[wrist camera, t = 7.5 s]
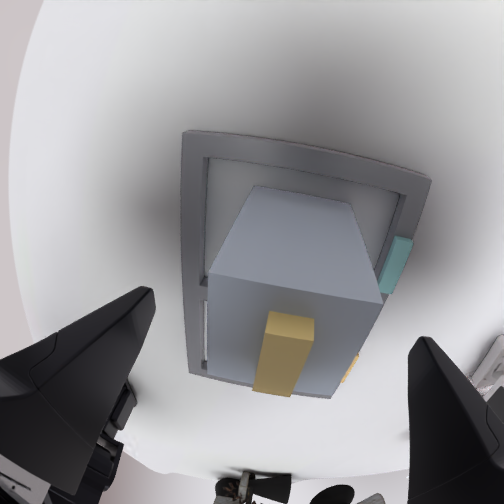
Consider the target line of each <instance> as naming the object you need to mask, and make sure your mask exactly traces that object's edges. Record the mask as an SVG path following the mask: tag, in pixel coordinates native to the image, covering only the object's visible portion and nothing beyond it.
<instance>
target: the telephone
mask: <svg viewBox="0 0 504 504" xmlns="http://www.w3.org/2000/svg"><path fill="white" fill-rule="evenodd" d="M290 490H291V475H287V476H280V477H273V478H264V479H255V474H253V473H252V474H250V472H243V474H242V477H241V480H238V479H233V478H224V479H221V480H219V481H218V482H217V483H216V486H215V491H216V499H215V501H214V504H244V503H245V502H246V504H256V503H255V501H253V502H252V496H253V494H255V495H258V496H261V497H264V498H267V499H271V500H274V501H277V502H281V503H284V504H287V503H288V500H289V495H290ZM353 498H354V489H353V488H352V487H351V486H349V485H343V484H342V485H335V486H331V487H329V488H326V489H325V490H323V491H321V492H320V493H318V494H317V495H316V496H315V497H314V498H313V499H312V500H311V502H310V504H350V503H351V502H352V500H353ZM251 502H252V503H251ZM261 504H262V503H261ZM357 504H385V501H384V498H383V496H382V495H381V494H379V493H377V494H374V495H373V496H371V497H369V498H367V499H365V500H363V501H361V502H359V503H357Z"/></svg>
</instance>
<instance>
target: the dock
mask: <svg viewBox="0 0 504 504" xmlns="http://www.w3.org/2000/svg"><path fill="white" fill-rule="evenodd" d="M208 157H210V158H218V159H227V160H234V161H242V162H249V163H256V164H263V165H269V166H275V167H281V168H287V169H293V170H298V171H304V172H309V173H314V174H319V175H324V176H329V177H334V178H339V179H343V180H348V181H352V182H357V183H361V184H365V185H369V186H373V187H377V188H381V189H385V190H389V191H393V192H397V193H400V197H399V201H398V204H397V207H396V210H395V213H394V217H393V220H392V223H391V226H390V229H389V232H388V235H387V237H386V240H385V243H384V246H383V249H382V251H381V254H380V257H379V259H378V262H377V265H376V267H375V270H374V273H375V277H376V280H377V283H378V287H379V290H380V294H381V297H382V301H383V305H384V303H385V301H386V299H387V297H388V295H389V294H392V293H393V290H394V288H395V286H396V284H397V282H398V280H399V277H400V275H401V273H402V270H403V268H404V266H405V263H406V261H407V259H408V256H409V254H410V251H411V249H412V246H413V244H414V243H413V241H412V238H413V236H414V233H415V230H416V227H417V225H418V222H419V219H420V216H421V213H422V210H423V207H424V204H425V201H426V198H427V195H428V192H429V188H430V185H431V182H432V180H431V179H430V178H429V177H427V176H426V175H424V174H421V173H418V172H414V171H411V170H408V169H404V168H401V167H398V166H394V165H391V164H387V163H383V162H380V161H376V160H372V159H368V158H364V157H360V156H356V155H352V154H347V153H343V152H338V151H334V150H329V149H324V148H319V147H314V146H309V145H303V144H298V143H292V142H286V141H280V140H274V139H267V138H260V137H252V136H244V135H236V134H226V133H216V132H205V131H191V130H189V131H186V132H183V134H182V158H181V262H182V286H183V305H184V320H185V334H186V346H187V357H188V367H189V373H192V374H195V375H199V376H203V377H207V378H211V379H215V380H219V381H224V382H228V383H233V384H237V385H242V386H247V387H252V388H253V384H250V383H245V382H240V381H235V380H231V379H226V378H222V377H217V376H213V375H209V374H207V361H204V300H205V301H208V278H206V277H204V240H205V212H206V190H207V171H208ZM382 307H383V306H382ZM381 309H382V308H381ZM380 311H381V310H380ZM379 313H380V312H379ZM378 315H379V314H378ZM377 317H378V316H377ZM376 319H377V318H376ZM375 321H376V320H375ZM374 323H375V322H374ZM373 325H374V324H373ZM372 327H373V326H372ZM371 329H372V328H371ZM370 331H371V330H370ZM370 331H369V333H370ZM369 333H368V335H369ZM368 335H367V337H368ZM367 337H366V338H367ZM365 340H366V339H365ZM364 342H365V341H364ZM363 344H364V343H363ZM363 344H362V346H363ZM362 346H361V348H362ZM361 348H360V349H361ZM359 351H360V350H359ZM358 357H359V352H358V353H357V355H356V357H355V359H354V360H353V362H352V364H351V365H350V367H349V369H348V370H347V372H346V374H345V375H344V377H343V379H342V380H341V382H340V383H343V382H344V380H345V379H346V377H347V375H348V374H349V372H350V371H351V369H352V367H353V366H354V364H355V362H356V361H357V359H358ZM340 383H339V385H340ZM339 385H338V386H339ZM337 388H338V387H337ZM337 388H336V389H337ZM335 391H336V390H335ZM335 391H334V392H335ZM292 394H294V395H301V396H309V397H317V398H326V399H330V398H331V397H332V396H330V395H320V394H312V393H304V392H297V391H293V392H292ZM333 394H334V393H333ZM333 394H332V395H333Z"/></svg>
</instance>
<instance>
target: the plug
mask: <svg viewBox="0 0 504 504" xmlns="http://www.w3.org/2000/svg"><path fill="white" fill-rule="evenodd" d="M382 306H383V301H382V297H381V294H380V290H379V287H378V283H377V280H376V277H375V273H374V270H373V267H372V264H371V261H370V258H369V255H368V252H367V249H366V246H365V243H364V240H363V237H362V234H361V231H360V229H359V226H358V223H357V220H356V218H355V215H354V212H353V210H352V207H351V204H349V203H344V202H340V201H335V200H330V199H325V198H320V197H315V196H310V195H305V194H300V193H294V192H289V191H283V190H278V189H272V188H266V187H260V186H254V187H253V189H252V190H251V192H250V194H249V196H248V198H247V200H246V201H245V203H244V205H243V207H242V209H241V211H240V213H239V214H238V216H237V218H236V220H235V222H234V224H233V226H232V228H231V230H230V231H229V233H228V235H227V237H226V239H225V241H224V243H223V245H222V247H221V249H220V250H219V252H218V254H217V256H216V258H215V260H214V262H213V264H212V266H211V268H210V270H209V272H208V303H207V374H209V375H213V376H217V377H222V378H226V379H231V380H235V381H240V382H245V383H250V384H253V389H252V391H256V392H261V393H266V394H272V395H278V396H285V397H290V396H291V394H292V392H293V391H297V392H304V393H312V394H320V395H330V396H332V394H333V393H334V391H335V390H336V388H337V387H338V385H339V383H340V382H341V380H342V379H343V377H344V375H345V374H346V372H347V370H348V369H349V367H350V365H351V364H352V362H353V360H354V359H355V357H356V355H357V353H358V352H359V350H360V348H361V346H362V344H363V343H364V341H365V339H366V337H367V335H368V333H369V331H370V330H371V328H372V326H373V324H374V322H375V320H376V318H377V316H378V314H379V312H380V310H381V308H382Z"/></svg>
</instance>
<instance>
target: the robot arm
mask: <svg viewBox="0 0 504 504" xmlns="http://www.w3.org/2000/svg"><path fill="white" fill-rule="evenodd" d="M155 310H156V305H155V298H154V292H153V289H151V288H149V287H145V286H140V287H138V288H136V289H134V290H132V291H130V292H128V293H127V294H125V295H123V296H121V297H119V298H117V299H115V300H114V301H112V302H110V303H108V304H106V305H104V306H103V307H101V308H99V309H97V310H95V311H93V312H92V313H90V314H88V315H86V316H84V317H82V318H81V319H79V320H77V321H75V322H73V323H72V324H70V325H68V326H66V327H64V328H63V329H61V330H59V331H58V332H55V333H54V334H52V335H50V336H48V337H46V338H45V339H43V340H41V341H39V342H37V343H35V344H33V345H31V346H29V347H27V348H25V349H23V350H21V351H18V352H16V353H14V354H11V355H9V356H7V357H5V358H3V359H0V504H98V503H99V500H100V497H101V495H102V492H103V491H106V490H108V488H109V487H110V486H111V484H112V482H113V480H114V478H115V475H116V471H117V467H118V464H119V460H120V457H121V453H122V450H123V446H124V444H123V443H121V442H118V441H116V440H114V437H115V435H116V433H117V431H118V430H123V429H124V426H125V424H126V422H127V420H128V418H129V416H130V414H131V412H132V409H133V407H135V406H136V405H137V402H136V400H135V397H134V395H133V393H132V391H131V388H130V386H129V384H128V381H127V377H128V375H129V373H130V371H131V369H132V367H133V365H134V363H135V361H136V359H137V357H138V355H139V353H140V351H141V348H142V346H143V343H144V340H145V338H146V335H147V332H148V330H149V327H150V324H151V322H152V319H153V317H154V314H155ZM408 408H409V431H410V469H409V490H408V501H407V504H504V423H503V422H502V421H501V420H500V419H499V417H498V416H497V415H496V414H495V412H494V411H493V410H492V409H491V407H490V406H489V405H488V404H487V402H486V401H485V400H484V398H483V397H482V396H481V395H480V394H479V392H478V391H477V390H476V389H475V387H474V386H473V385H472V384H471V383H470V381H469V380H468V379H467V378H466V377H465V375H464V374H463V373H462V372H461V371H460V369H459V368H458V367H457V366H456V365H455V364H454V363H453V361H452V360H451V359H450V358H449V357H448V356H447V355H446V353H445V352H444V351H443V350H442V349H441V348H440V347H439V346H438V344H437V343H436V342H435V341H434V340H433V339H432V338H431V337H426V336H421V337H419V338H418V340H417V341H416V343H415V344H414V346H413V347H412V349H411V350H410V352H409V355H408ZM98 443H99V444H101V445H102V446H101V445H99V444H98ZM103 446H104V447H103Z"/></svg>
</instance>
